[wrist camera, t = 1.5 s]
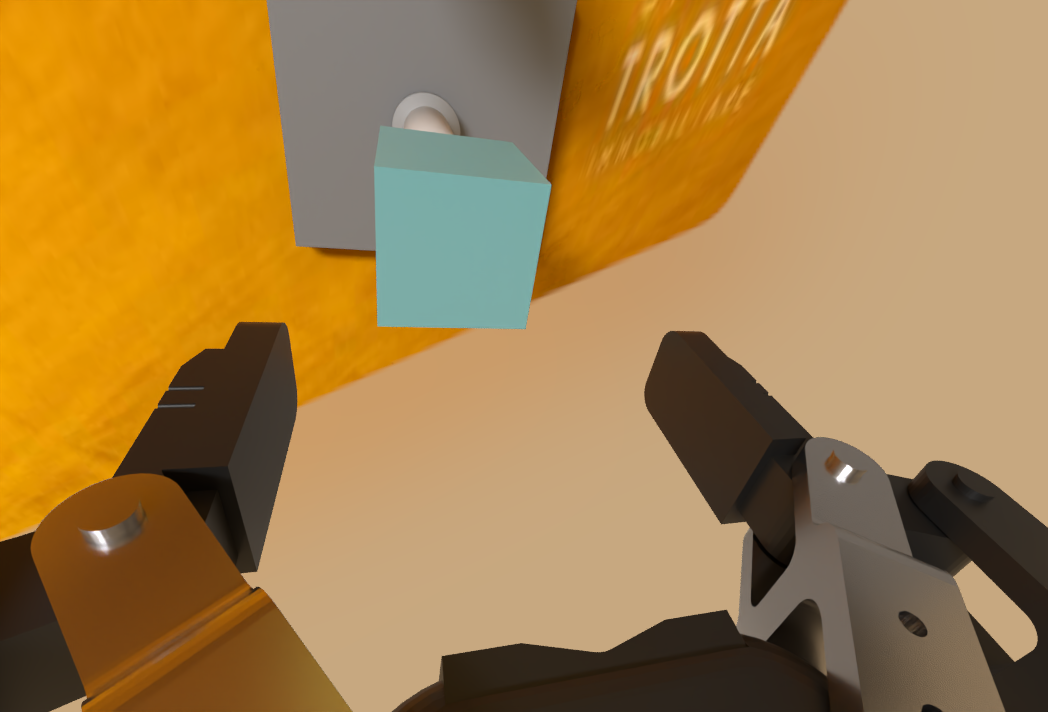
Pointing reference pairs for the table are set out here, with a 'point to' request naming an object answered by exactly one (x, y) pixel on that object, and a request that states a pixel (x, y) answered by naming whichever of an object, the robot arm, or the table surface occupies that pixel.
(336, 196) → the post stand
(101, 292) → the table surface
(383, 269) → the teal cube
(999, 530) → the robot arm
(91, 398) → the table surface
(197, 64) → the table surface
